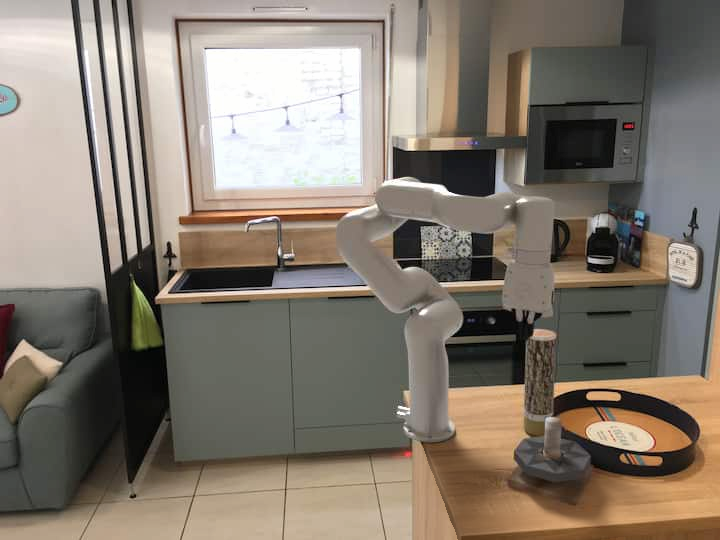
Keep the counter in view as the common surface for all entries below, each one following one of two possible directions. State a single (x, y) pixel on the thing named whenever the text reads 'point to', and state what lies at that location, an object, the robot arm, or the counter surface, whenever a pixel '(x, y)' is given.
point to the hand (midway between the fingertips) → (525, 338)
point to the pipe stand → (554, 490)
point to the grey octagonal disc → (552, 460)
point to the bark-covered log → (539, 380)
